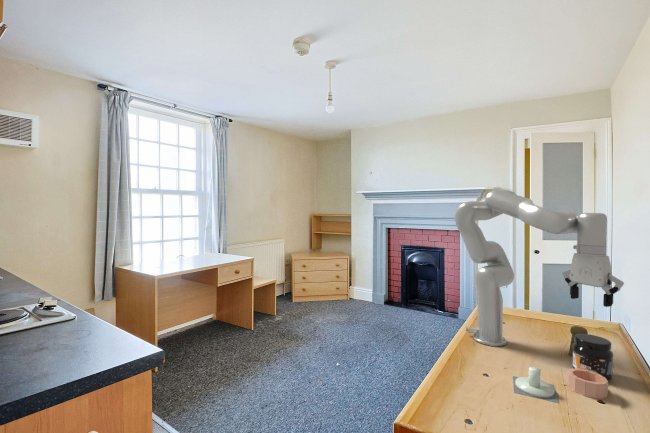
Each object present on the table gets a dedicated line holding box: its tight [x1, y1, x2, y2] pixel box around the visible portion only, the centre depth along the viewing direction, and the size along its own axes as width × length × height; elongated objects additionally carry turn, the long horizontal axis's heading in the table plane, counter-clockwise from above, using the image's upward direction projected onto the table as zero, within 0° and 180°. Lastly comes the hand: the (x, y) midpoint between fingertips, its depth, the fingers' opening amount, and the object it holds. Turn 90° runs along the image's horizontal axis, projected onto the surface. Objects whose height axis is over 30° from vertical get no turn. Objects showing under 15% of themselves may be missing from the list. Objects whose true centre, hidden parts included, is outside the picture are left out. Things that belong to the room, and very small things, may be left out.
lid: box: [515, 366, 555, 398], centre depth 98 cm, size 10×10×6 cm
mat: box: [512, 375, 560, 404], centre depth 98 cm, size 11×11×1 cm
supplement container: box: [571, 333, 614, 382], centre depth 108 cm, size 10×10×12 cm
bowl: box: [566, 367, 609, 400], centre depth 98 cm, size 9×9×5 cm
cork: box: [568, 325, 589, 358], centre depth 122 cm, size 6×6×11 cm
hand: (590, 302), depth 106 cm, fingers open, 9 cm apart
